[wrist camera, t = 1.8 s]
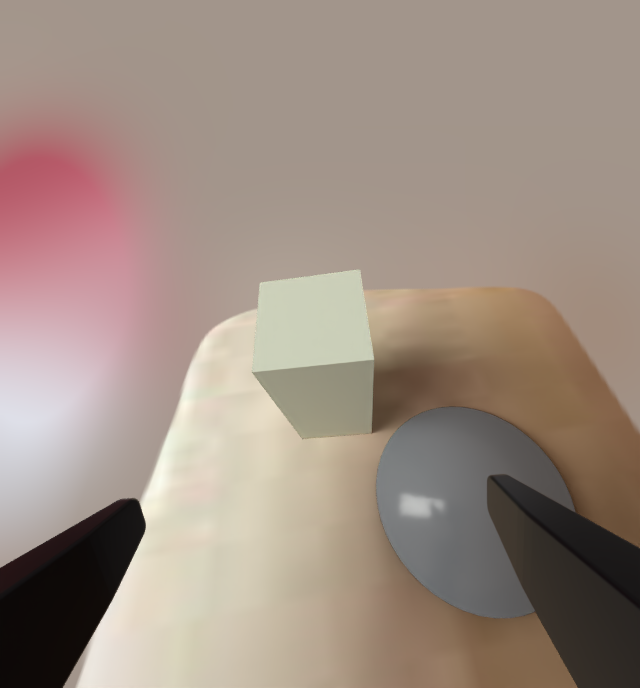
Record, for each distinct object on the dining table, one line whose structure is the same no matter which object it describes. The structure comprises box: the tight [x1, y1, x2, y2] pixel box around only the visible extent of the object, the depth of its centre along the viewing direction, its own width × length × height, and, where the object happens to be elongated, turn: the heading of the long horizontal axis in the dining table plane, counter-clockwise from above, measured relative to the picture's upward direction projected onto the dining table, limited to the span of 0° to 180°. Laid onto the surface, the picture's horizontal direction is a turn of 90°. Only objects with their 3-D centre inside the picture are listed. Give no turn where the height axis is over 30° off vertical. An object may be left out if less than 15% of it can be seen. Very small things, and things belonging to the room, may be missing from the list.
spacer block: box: [252, 270, 374, 439], centre depth 18 cm, size 5×5×11 cm
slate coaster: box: [376, 407, 575, 618], centre depth 18 cm, size 11×11×1 cm
